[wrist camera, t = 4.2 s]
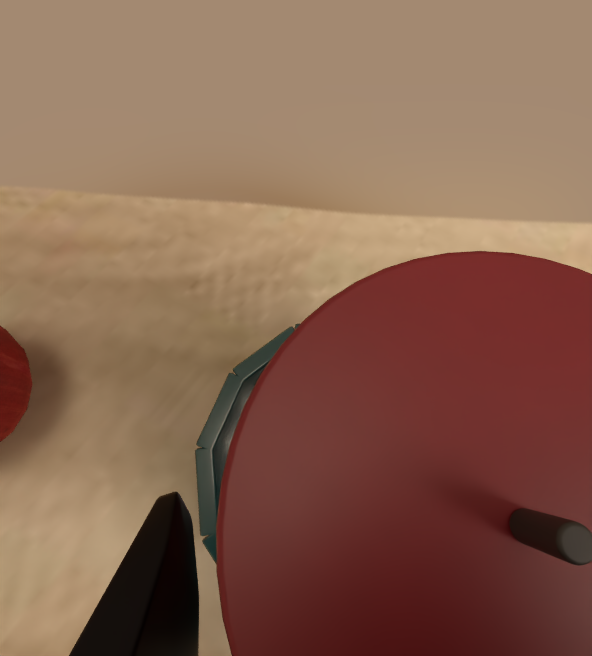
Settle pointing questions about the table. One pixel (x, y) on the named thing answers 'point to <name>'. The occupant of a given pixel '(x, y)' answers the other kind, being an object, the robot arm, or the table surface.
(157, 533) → the robot arm
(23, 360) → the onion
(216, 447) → the shallow bowl
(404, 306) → the candle
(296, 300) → the table surface
